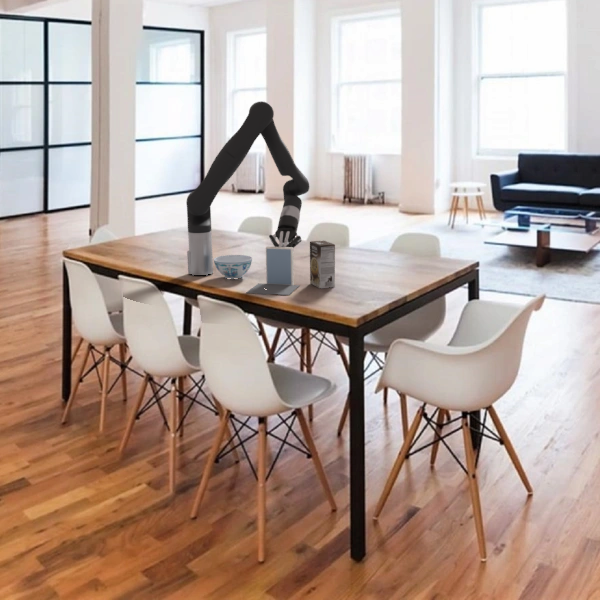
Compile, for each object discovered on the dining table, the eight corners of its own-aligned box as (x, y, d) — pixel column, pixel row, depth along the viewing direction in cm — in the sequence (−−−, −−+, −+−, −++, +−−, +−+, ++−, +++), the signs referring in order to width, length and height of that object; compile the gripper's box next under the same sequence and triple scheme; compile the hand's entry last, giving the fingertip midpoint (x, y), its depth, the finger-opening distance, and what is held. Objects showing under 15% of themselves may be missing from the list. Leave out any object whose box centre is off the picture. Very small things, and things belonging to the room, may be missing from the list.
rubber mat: (245, 293, 258) (245, 292, 258) (258, 284, 272) (258, 283, 272) (289, 295, 254) (289, 294, 254) (299, 286, 269) (299, 285, 268)
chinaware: (206, 279, 281) (205, 260, 279) (228, 272, 294) (227, 253, 292) (239, 283, 274) (238, 263, 272) (259, 275, 287) (259, 256, 285)
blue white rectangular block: (266, 284, 272) (265, 247, 269) (268, 282, 275) (267, 246, 271) (292, 285, 270) (291, 248, 266) (293, 284, 272) (293, 247, 269)
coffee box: (309, 283, 272) (309, 241, 268) (324, 282, 274) (324, 240, 270) (319, 288, 264) (319, 245, 260) (335, 287, 266) (335, 243, 262)
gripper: (270, 213, 279) (262, 251, 270) (304, 214, 275) (296, 252, 267) (274, 225, 285) (266, 262, 276) (307, 226, 282) (300, 263, 273)
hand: (281, 257), depth 272 cm, fingers closed
